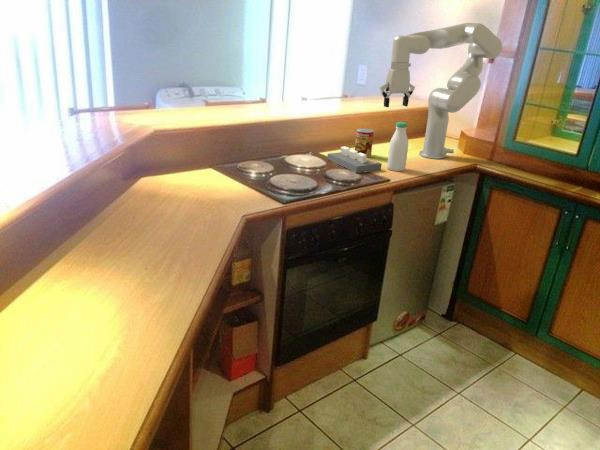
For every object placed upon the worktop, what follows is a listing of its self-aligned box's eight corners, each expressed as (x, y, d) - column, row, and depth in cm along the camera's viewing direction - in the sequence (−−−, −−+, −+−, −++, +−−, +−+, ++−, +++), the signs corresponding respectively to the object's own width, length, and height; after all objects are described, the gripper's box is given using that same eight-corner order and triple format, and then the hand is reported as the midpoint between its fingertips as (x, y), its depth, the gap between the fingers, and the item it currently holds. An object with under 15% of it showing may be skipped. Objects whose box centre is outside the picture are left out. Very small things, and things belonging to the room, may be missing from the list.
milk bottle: (404, 172, 206) (411, 125, 199) (386, 170, 208) (392, 123, 200) (405, 167, 213) (411, 121, 206) (387, 166, 215) (392, 120, 207)
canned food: (350, 155, 229) (353, 129, 225) (360, 152, 235) (363, 127, 230) (364, 158, 224) (367, 132, 220) (374, 156, 230) (377, 130, 225)
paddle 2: (361, 159, 209) (360, 152, 208) (366, 161, 206) (366, 154, 205) (357, 160, 209) (356, 153, 207) (363, 163, 205) (362, 156, 204)
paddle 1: (345, 152, 219) (344, 146, 217) (350, 154, 216) (349, 148, 214) (341, 154, 218) (340, 147, 216) (346, 156, 215) (345, 149, 213)
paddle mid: (353, 155, 214) (352, 149, 212) (358, 158, 211) (357, 151, 209) (349, 157, 213) (348, 150, 212) (354, 159, 210) (353, 152, 209)
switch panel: (350, 157, 225) (351, 150, 224) (380, 170, 208) (381, 163, 207) (327, 160, 219) (327, 153, 218) (356, 173, 202) (356, 165, 200)
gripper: (411, 65, 217) (407, 104, 224) (377, 65, 211) (374, 105, 218) (421, 66, 211) (416, 107, 217) (387, 67, 205) (383, 108, 211)
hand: (395, 106), depth 218 cm, fingers open, 9 cm apart
